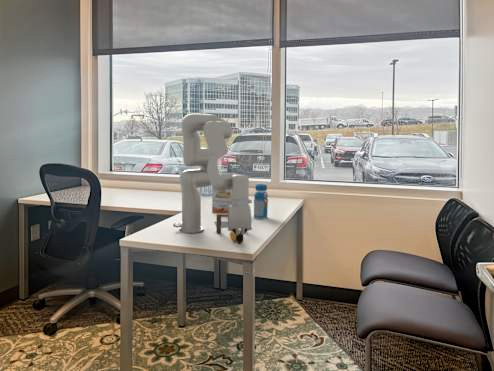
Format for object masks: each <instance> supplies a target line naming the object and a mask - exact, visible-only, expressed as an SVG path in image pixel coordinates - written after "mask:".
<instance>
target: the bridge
mask: <svg viewBox="0 0 494 371" xmlns="http://www.w3.org/2000/svg"><path fill="white" fill-rule="evenodd" d="M222 218H228V213H216V222H217V227H216V226H215V227H216V232H215V233H216V234H222V228H221V221H222ZM246 233H247V231H246V232H245V234H246Z"/></svg>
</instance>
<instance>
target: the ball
mask: <svg viewBox="0 0 494 371" xmlns="http://www.w3.org/2000/svg"><path fill="white" fill-rule="evenodd" d="M238 231H239V234H240V232H241V228H239V229H238ZM229 237H230V240H231V241H233V242H236V234H235V233H234V232H233V231H229Z"/></svg>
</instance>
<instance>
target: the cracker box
mask: <svg viewBox="0 0 494 371" xmlns="http://www.w3.org/2000/svg"><path fill="white" fill-rule="evenodd" d="M211 192H212V195H211V196H212V198H211V199H212V200H211V201H212V202H211V204H212V205H211V206H212V207H211V209H212V210H211V212H212V213H216V214H217V213H229V206H230V205H231V199H232V189H230V190H220V191H218V190H215V189H214V188H213V187H212V191H211Z"/></svg>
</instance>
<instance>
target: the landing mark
mask: <svg viewBox="0 0 494 371" xmlns="http://www.w3.org/2000/svg"><path fill="white" fill-rule="evenodd" d="M214 225H215V227H217V221H214ZM222 228H228V220H225V221H224V220H223V221H222V220H221V229H222Z"/></svg>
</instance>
